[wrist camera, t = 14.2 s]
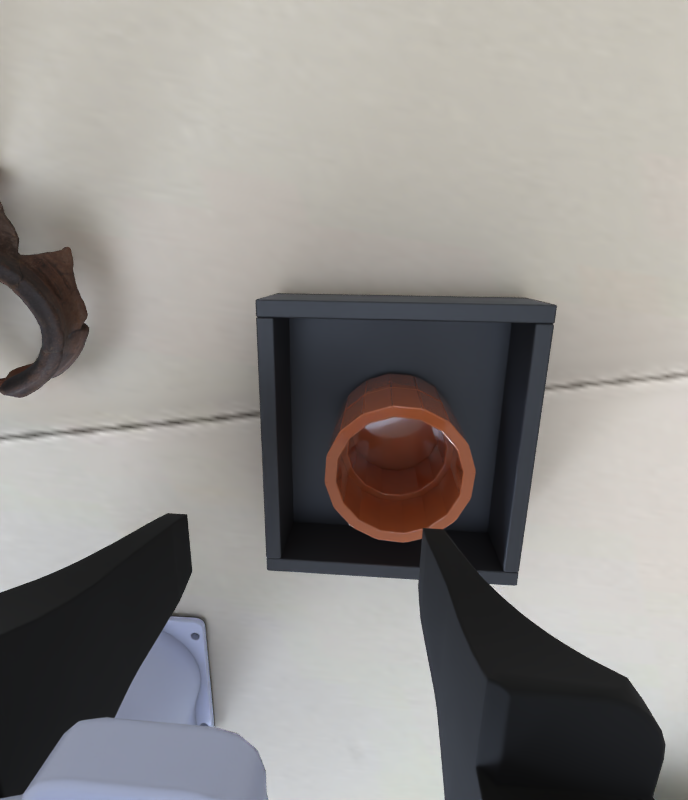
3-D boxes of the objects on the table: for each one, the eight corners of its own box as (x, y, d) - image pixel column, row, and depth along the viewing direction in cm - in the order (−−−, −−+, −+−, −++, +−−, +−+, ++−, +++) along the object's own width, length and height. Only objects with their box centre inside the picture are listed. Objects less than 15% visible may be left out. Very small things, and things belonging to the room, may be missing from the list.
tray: (496, 538, 24) (517, 586, 20) (283, 526, 25) (266, 571, 21) (526, 297, 21) (557, 304, 17) (276, 293, 21) (255, 299, 18)
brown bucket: (464, 462, 22) (490, 523, 17) (357, 489, 23) (350, 555, 18) (435, 356, 21) (453, 387, 16) (323, 390, 22) (304, 429, 17)
